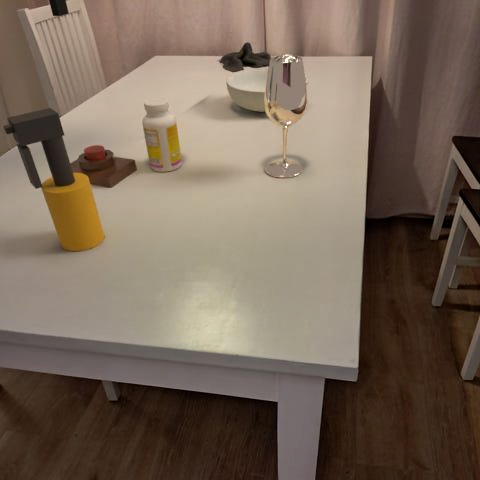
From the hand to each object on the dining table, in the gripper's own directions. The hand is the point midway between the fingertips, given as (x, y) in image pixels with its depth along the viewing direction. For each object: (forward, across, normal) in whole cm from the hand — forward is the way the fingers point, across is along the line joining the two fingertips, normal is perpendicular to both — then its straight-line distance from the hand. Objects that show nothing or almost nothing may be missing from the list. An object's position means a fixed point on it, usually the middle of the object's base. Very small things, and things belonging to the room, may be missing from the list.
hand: (60, 14), depth 87 cm
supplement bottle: (+27, +19, -1) cm, 33 cm away
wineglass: (+27, +43, +5) cm, 51 cm away
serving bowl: (+27, +25, +41) cm, 55 cm away
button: (+23, +8, -9) cm, 26 cm away
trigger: (+16, +19, -34) cm, 42 cm away
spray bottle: (+26, +21, -31) cm, 46 cm away
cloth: (+27, 0, +83) cm, 88 cm away
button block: (+26, +8, -9) cm, 29 cm away
